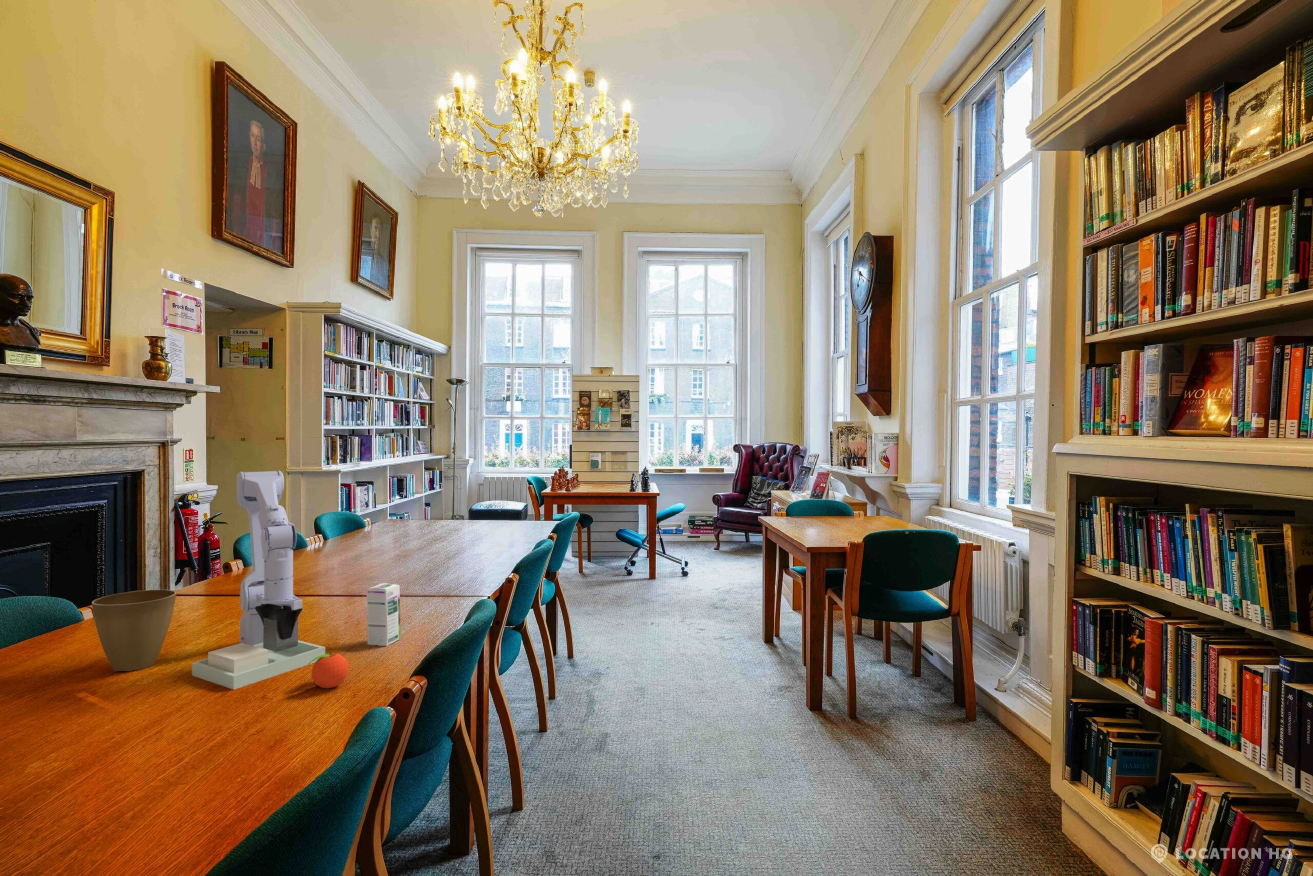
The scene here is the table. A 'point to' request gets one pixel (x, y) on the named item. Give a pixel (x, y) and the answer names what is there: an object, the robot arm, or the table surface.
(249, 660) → the off-white block
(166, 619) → the plant pot
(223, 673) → the pale green tray
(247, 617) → the robot arm
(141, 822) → the table surface
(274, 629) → the tin
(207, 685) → the table surface
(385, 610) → the syrup box
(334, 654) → the clementine
